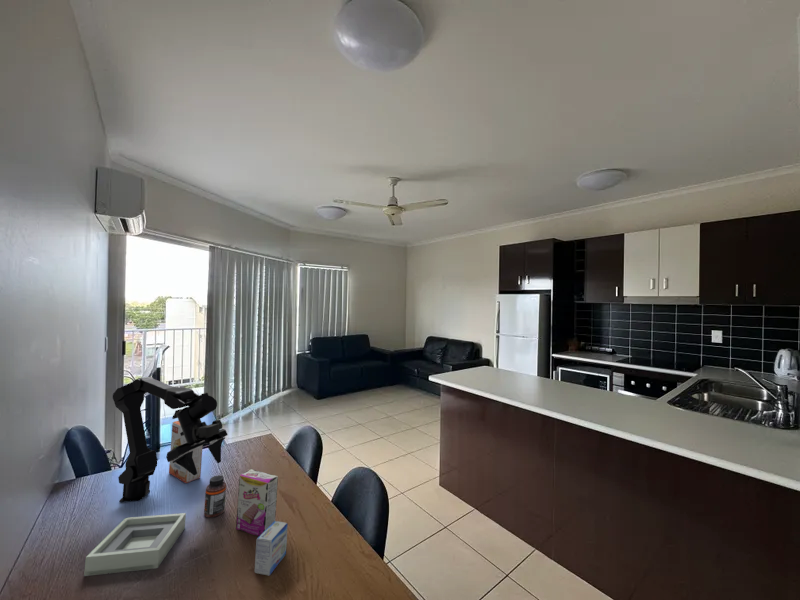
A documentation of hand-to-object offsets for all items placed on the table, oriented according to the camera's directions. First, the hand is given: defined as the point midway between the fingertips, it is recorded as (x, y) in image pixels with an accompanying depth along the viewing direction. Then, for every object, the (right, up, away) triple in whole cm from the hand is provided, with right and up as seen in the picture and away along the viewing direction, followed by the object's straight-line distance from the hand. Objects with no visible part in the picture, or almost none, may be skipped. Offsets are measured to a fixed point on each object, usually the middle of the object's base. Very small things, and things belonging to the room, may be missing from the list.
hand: (208, 468), depth 106 cm
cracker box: (-24, -16, +24) cm, 37 cm away
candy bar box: (+19, -15, -7) cm, 25 cm away
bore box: (-9, -13, -17) cm, 23 cm away
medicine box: (+29, -15, -20) cm, 38 cm away
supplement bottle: (+2, -15, +1) cm, 15 cm away
